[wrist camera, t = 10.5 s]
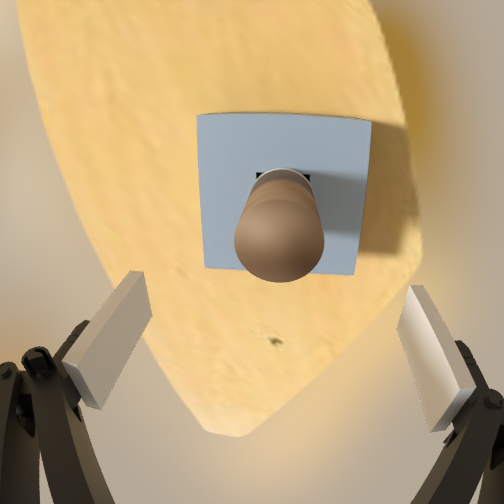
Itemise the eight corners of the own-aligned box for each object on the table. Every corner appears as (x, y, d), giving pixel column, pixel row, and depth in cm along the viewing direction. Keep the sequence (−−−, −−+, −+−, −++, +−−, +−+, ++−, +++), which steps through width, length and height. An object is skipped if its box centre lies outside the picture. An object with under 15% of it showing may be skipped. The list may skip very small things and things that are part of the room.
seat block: (211, 113, 32) (196, 115, 27) (357, 118, 31) (371, 121, 25) (216, 244, 39) (205, 268, 34) (345, 250, 38) (353, 275, 33)
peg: (255, 157, 33) (232, 197, 20) (311, 159, 32) (329, 201, 19) (255, 210, 36) (234, 280, 22) (308, 212, 35) (320, 284, 22)
